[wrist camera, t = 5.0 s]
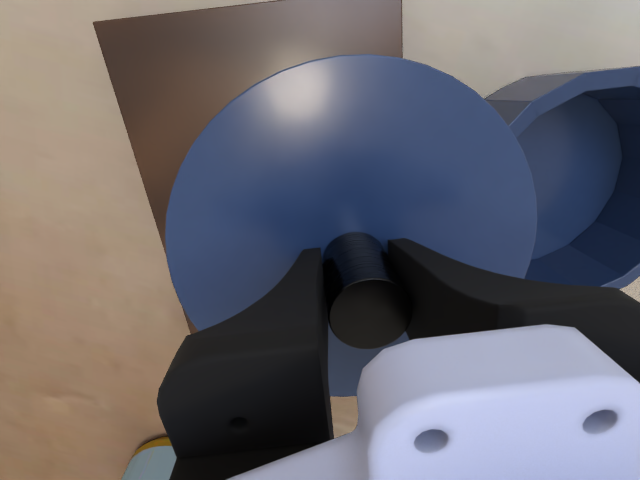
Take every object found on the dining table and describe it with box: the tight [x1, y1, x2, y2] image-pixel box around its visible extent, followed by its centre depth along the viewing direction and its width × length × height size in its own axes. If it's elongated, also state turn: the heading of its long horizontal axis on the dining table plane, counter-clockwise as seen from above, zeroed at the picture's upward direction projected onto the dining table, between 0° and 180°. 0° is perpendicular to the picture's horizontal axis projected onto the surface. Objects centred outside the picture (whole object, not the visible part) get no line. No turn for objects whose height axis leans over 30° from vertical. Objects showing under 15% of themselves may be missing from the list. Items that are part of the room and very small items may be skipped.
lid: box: [165, 54, 537, 397], centre depth 12 cm, size 14×14×4 cm
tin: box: [485, 66, 640, 289], centre depth 20 cm, size 13×13×5 cm
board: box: [93, 0, 403, 334], centre depth 21 cm, size 20×15×2 cm
